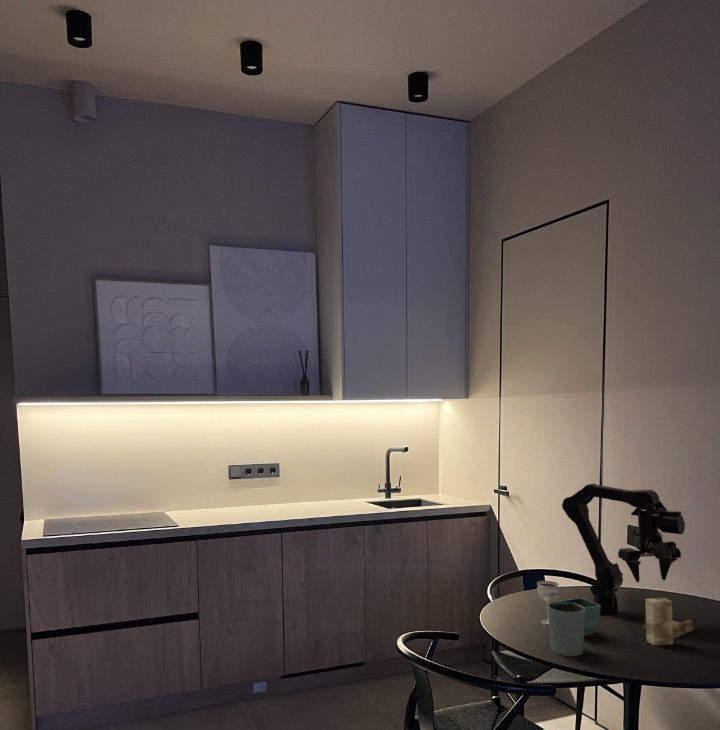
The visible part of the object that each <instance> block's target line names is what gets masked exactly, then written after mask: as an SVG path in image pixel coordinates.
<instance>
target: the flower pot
mask: <svg viewBox="0 0 720 730" xmlns="http://www.w3.org/2000/svg"><path fill="white" fill-rule="evenodd" d="M558 602H570V603H576V604H579V605H582V606H584V607H585V609H586V610H585V620H584V637H586V636H592V635H593V634H594V633H595V632H596V630H597V628H598V625H599V622H600V617H601V615H600V608H601V606H600V605H598V604H596V603H594V601H593V602H592V601H590V600H588V599H585V598H582V597H575V598H570V599H565V600H559V601H558Z"/></svg>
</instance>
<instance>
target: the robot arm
mask: <svg viewBox="0 0 720 730" xmlns="http://www.w3.org/2000/svg"><path fill="white" fill-rule="evenodd" d="M594 498H600V499H605V500H611V501H616V502H620V503H625V504H628V505H630V506H632V507H633V508H635V509H634V510H633V511H632V512H631V513H630V514H631V516H637V523H638V527H637V528H638V532H636V533H635V534H636V535H635V536H636V537H638V544H639V545H636V549H637V550H636V549H633V548H630V547H628V548H627V547H625V548H620V549H619V550H618V552H617V555H618V558H619V559H621V560H622V561H624V562H625V563H626V564H627V566H628V568H629V570H630V572H631V573H632V576H633V578H634V580H635V582H636V583H640V565H641V562H642V561H640V559H641V558H642V557H645V558H646V557H655V559H657V560H658V564H659V565H658V566H659V571H660V576H661V580H662V581H666V579H667V576H668V573H669V571H670V568H671V565H672V563H674V562H676V561H678V559H679V558H680V559H681V558H682V551H681V549H679V547H677V542H675V541H672V540H671V541H668V542H667V541H665V542H664V541H663V537H662V534H659V531H660V532H662V533H666V534H674V535H675V534H676V535H683V534H684V532H685V530H686V522H685V519H684V516H683V515H682V512H681V511H679V510H677V511H671V510H668V509H667V508H666V506H664V504H663V503H662V501H661V500H660V496H659V495H658V493H657V492H656V490H655V491H654V490H653V489H635V490H634V489H631V490H630V489H623V488H618V487H611V486H608V485H607V486H605V485H599V484H596V483H590V484H586V485H584V487H583V488H582V489H580V490H578V491H576V492H575V493H574V494H573V495H571V496H567V497H565V498H564V499H563V500H562V503H561V508H562V510H563V511H564V513H565V514H566V516H567V517H568V518H569V519H570V521H572V523H574V525H575V527H576V529H577V530H578V532H579V534H580V536H581V539H582V541H583V543H584V545H585V548H586V549H587V552H588V553H589V555H590V557H591V560H592V562H593V564H594V575H595V578H596V582H595V583H594V584H593V585H591V586H590V591H591V594H592V595H593V603H596V604H598V605H600V606H601V608H600V616H606V615H607V616H608V615H610V616H611V615H619V614H620V612H619V611H618V610H619V608H618V597H617V593H616V592H618V590H619V588H620V587H621V586H622V585H623V582H624V578H623V576H624V574H623V572H622V571H621V570H620V566H619V564H618V562H616V563H612V562H611V560H610V559H609V558H608V556H607V554H606V551H605V549H604V548H603V545H602V543H601V541H600V539H599V537H598V536H597V533H596V531H595V529H594V527H593V525H592V523H591V521H590V515H589V514H590V510H589V506H588V505H589V504H590V502H592V501H593V499H594Z"/></svg>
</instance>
